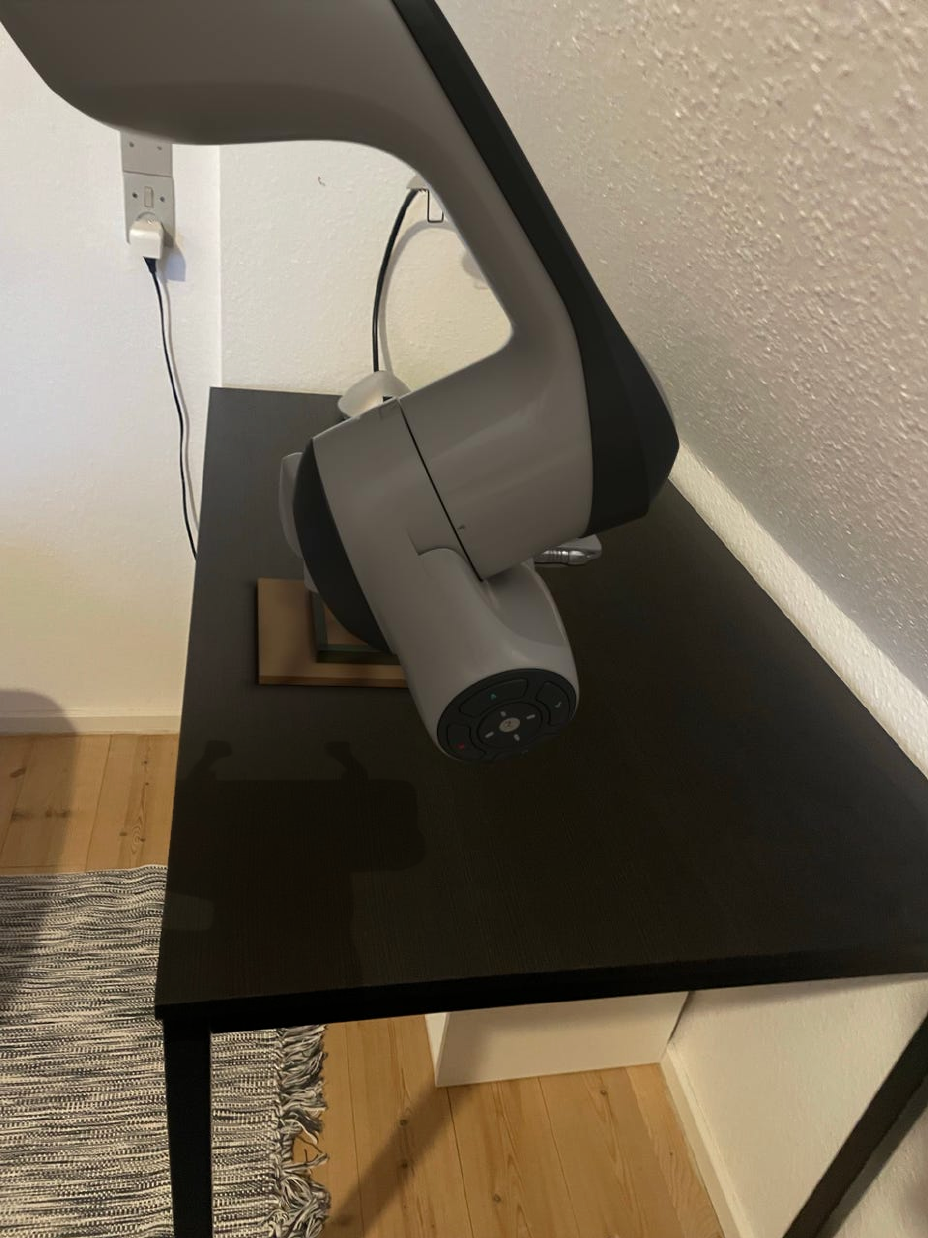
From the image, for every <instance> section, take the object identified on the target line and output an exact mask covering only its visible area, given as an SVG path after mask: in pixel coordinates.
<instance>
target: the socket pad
mask: <svg viewBox="0 0 928 1238" xmlns="http://www.w3.org/2000/svg"><path fill="white" fill-rule="evenodd" d="M256 587H257V589H256V590H257V649H258V651H257V652H258V658H257V659H258V662H257V663H258V684H259V685H279V686H280V685H282V686H285V685H286V686H323V687H325V686H326V687H327V686H328V687H331V686H332V687H366V688H367V687H368V688H370V687H371V688H373V687H374V688H409V687H408V684H407V681H406V678H405V675H404V672H403V669H402V666H401V663H400V661H399V658H398V656H397V654H394V655H393V656H391V655H388V654H385V653H383V652H380V651H378V650H376V649H375V648H373V647H371V646H370V645H368V644H366V643H365V642H363V641H362V640H360V639H358V638H357V637H355V636H354V635H352V634H351V633H349V632H348V631H347V630H346V629H345V628H344V627H343V626H342V625H341V624H340V623H339V621H338V620H337V619H336V618H335V617H334V615H333V614H332V613H331V611H330V610H329V608H328V607H327V606H326V604H325V602H324V601H323V599H322V597H321V596H320V594H319V593H316V592H313V591H311V590H309V589H308V588H307V587H306V585H305V581H304V579H284V578H268V577H267V578H264V577H258V578H257V585H256Z"/></svg>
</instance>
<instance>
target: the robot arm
mask: <svg viewBox="0 0 928 1238" xmlns="http://www.w3.org/2000/svg"><path fill="white" fill-rule="evenodd" d="M0 23H1V25H2V27H3V28H4V29H5V31H6V33H7V34H8V35H9V37H10V39H12V41H13V42H14V44H15V45H16V47H17V48H18V49H19V51H20V52H21V53H22V55H23V56H24V58H25V59H26V61H28V63H29V64H30V66H31V67H32V68H33V69H34V71H35V72H36V74H37V75H38V76H39V77H40V78H41V80H42V81H43V83H44V84H45V85H46V86H47V87H48V88H49V89H50V90H51V91H52V92H53V93H54V94H56V95H57V96H58V97H59V98H61V99H62V100H63V101H65V102H66V103H67V104H68V105H70V106H71V107H73V108H74V109H75V110H77V111H79V112H80V113H82V114H83V115H84V116H86V117H88V118H90V119H91V120H94V121H96V122H98V124H101V125H103V126H105V127H107V128H111V129H112V130H115V131H116V132H117V131H118V132H120V133H123V134H126V135H129V136H131V137H135V138H138V139H143V140H147V141H151V142H157V143H164V144H171V145H181V146H192V147H193V146H194V147H197V146H198V147H207V146H208V147H209V146H211V147H212V146H214V147H218V146H219V147H220V146H221V147H222V146H239V145H240V146H241V145H259V144H278V143H293V142H295V143H296V142H331V143H343V144H350V145H356V146H361V147H365V148H370V149H372V150H376V151H378V152H381V153H383V154H386V155H388V156H390V157H392V158H393V159H395V160H397V161H399V162H400V163H402V164H403V165H404V166H406V167H407V168H408V169H409V170H411V171H412V172H413V173H414V174H415V175H416V177H418V179H420V181H421V182H422V183H423V184H424V185H425V187H426V188H427V190H428V191H429V193H430V194H431V196H432V198H433V199H434V201H435V202H436V204H437V205H438V207H439V208H440V210H441V212H442V213H443V215H444V217H445V219H446V220H447V221H448V223H449V225H450V227H451V228H452V230H453V232H454V233H455V234H456V236H457V238H458V240H459V241H460V243H461V244H462V246H463V248H464V249H465V252H466V253H467V254H468V256H469V258H470V259H471V261H472V263H473V264H474V265H475V267H476V269H477V271H478V272H479V275H481V277H482V278H483V280H484V282H485V284H486V285H487V287H488V288H489V290H490V292H491V293H492V296H493V297H494V298H495V299H496V301H497V303H498V304H499V306H500V308H501V310H502V311H503V313H504V315H505V316H506V318H507V320H508V323H509V327H510V328H509V333H508V336H507V338H506V339H505V341H504V342H503V343H502V345H501V346H499V347H498V348H497V349H496V350H494V351H492V352H491V353H488V355H486V356H484V357H480V358H479V359H477V360H475V361H473V362H471V363H469V364H466V365H464V366H462V367H459V368H458V369H456V370H453V371H451V372H449V373H447V374H445V375H443V376H441V377H439V378H437V379H435V380H433V381H430V382H429V383H426V384H424V385H422V386H420V387H417V388H415V389H414V390H411V391H409V392H407V393H405V394H403V395H401V396H397V395H396V396H393V397H392V398H389V399H387V400H385V401H383V402H381V403H379V404H377V405H375V406H373V407H370V408H368V409H366V410H364V411H362V412H360V413H358V414H356V415H354V416H352V417H350V418H348V419H345V420H343V421H341V422H339V423H338V424H335V425H334V426H331V427H330V428H327V429H326V430H324V431H322V432H320V433H318V434H317V435H316V436H311V437H310V438H309V440H308V441H307V442H306V445H305V447H304V448H303V450H302V452H294V453H290V454H288V455H286V456H284V457H283V458H282V459H281V463H280V470H279V479H278V480H279V481H278V496H277V497H278V498H277V500H278V502H277V503H278V513H279V518H280V523H281V527H282V529H283V533H284V536H285V539H286V541H287V544H288V545H289V547H290V549H291V550H292V552H293V553H294V554H295V555H296V556H298V557H299V558H300V559H302V560H303V578H304V579H303V580H304V581H305V585H306V587H307V588H308V589H309V590H311V591H313V592H316V593H319V594H320V596H321V597H322V599H323V601H324V602H325V604H326V606H327V607H328V608H329V610H330V611H331V613H332V614H333V615H334V617H335V618H336V619H337V620H338V621H339V623H340V624H341V625H342V626H343V627H344V628H345V629H346V630H347V631H348V632H349V633H351V634H352V635H354V636H355V637H357V638H358V639H360V640H362V641H363V642H365V643H366V644H368V645H370V646H371V647H373V648H375V649H376V650H378V651H380V652H383V653H385V654H388V655H391V656H393V655H394V654H397V656H398V658H399V661H400V663H401V666H402V669H403V672H404V675H405V678H406V681H407V684H408V687H407V688H408V689H409V692H410V695H411V697H412V701H413V703H414V705H415V707H416V710H417V712H418V715H419V717H420V719H421V721H422V723H423V725H424V727H425V729H426V731H427V733H428V734H429V736H430V738H431V740H432V741H433V743H434V745H435V746H436V747H437V749H439V750H440V751H441V752H442V753H443V754H444V755H446V756H447V757H449V758H451V759H453V760H455V761H459V762H463V763H466V764H467V763H468V764H476V765H487V764H495V763H501V762H505V761H508V760H511V759H514V758H516V757H519V756H522V755H524V754H527V753H529V752H531V751H533V750H535V749H537V748H540V747H542V746H543V745H545V744H547V743H549V742H550V741H552V740H553V738H555V737H557V736H558V735H559V734H560V733H562V732H563V730H564V729H565V728H566V727H567V725H568V724H569V723H570V722H571V720H572V719H573V717H574V715H575V713H576V711H577V708H578V706H579V702H580V686H579V685H580V684H579V678H578V673H577V667H576V662H575V658H574V655H573V651H572V647H571V643H570V641H569V636H568V634H567V631H566V627H565V625H564V622H563V619H562V617H561V614H560V612H559V608H558V606H557V604H556V601H555V600H554V597H553V595H552V594H551V591H550V589H549V587H548V586H547V584H546V582H545V580H544V579H543V578H542V576H541V575H540V574H539V573H538V572H537V571H536V568H543V569H544V568H546V569H562V568H567V567H574V568H575V567H583V566H586V565H587V563H588V562H592V561H595V560H598V559H599V558H600V557H601V555H602V552H603V550H602V548H603V547H602V544H601V542H600V540H599V539H598V537H597V534H601V533H603V532H605V531H609V530H612V529H614V528H617V527H621V526H622V525H625V524H628V523H629V524H630V523H631V522H634V521H637V520H641V519H643V518H645V517H646V516H647V515H648V513H649V512H650V511H651V509H652V508H653V505H654V504H655V503H656V501H657V499H658V498H659V496H660V494H661V492H662V490H663V488H664V487H665V484H666V483H667V480H668V478H669V477H670V474H671V472H672V470H673V468H674V465H675V462H676V460H677V457H678V454H679V450H680V447H681V446H680V445H681V444H680V439H679V435H678V433H677V423H676V419H675V414H674V411H673V407H672V404H671V401H670V399H669V396H668V394H667V391H666V389H665V387H664V385H663V384H662V381H661V380H660V378H659V376H658V375H657V372H656V371H655V370H654V368H653V366H652V365H651V364H650V362H649V361H648V359H647V358H646V356H645V354H643V352H642V351H641V350H640V348H639V347H638V346H637V345H636V343H635V342H634V341H633V339H632V338H631V337H630V336H629V334H628V333H627V332H626V331H625V330H624V328H623V327H622V325H621V324H620V322H619V321H618V319H617V317H616V315H615V314H614V313H613V311H612V309H611V306H609V304H608V302H607V301H606V299H605V297H604V295H603V294H602V292H601V290H600V289H599V287H598V285H597V283H596V281H595V280H594V278H593V276H592V274H591V272H590V271H589V269H588V267H587V265H586V263H585V262H584V260H583V258H582V256H581V254H580V252H579V250H578V249H577V247H576V245H575V244H574V242H573V239H572V238H571V236H570V234H569V232H568V231H567V228H566V227H565V225H564V223H563V222H562V219H561V218H560V216H559V214H558V213H557V210H556V209H555V207H554V205H553V203H552V201H551V199H550V198H549V196H548V194H547V192H546V190H545V188H544V187H543V185H542V183H541V181H540V179H539V177H538V175H537V174H536V173H535V170H534V168H533V167H532V165H531V162H530V161H529V159H528V158H527V156H526V154H525V153H524V151H523V148H522V147H521V145H520V142H519V141H518V140H517V139H518V138H517V137H516V136H515V134H514V132H513V131H512V129H511V127H510V125H509V123H508V122H507V120H506V118H505V116H504V114H503V113H502V111H501V109H500V107H499V106H498V104H497V102H496V100H495V99H494V97H493V95H492V93H491V91H490V89H489V88H488V87H487V85H486V83H485V80H484V79H483V77H482V76H481V74H480V72H479V71H478V68H477V67H476V65H475V64H474V62H473V61H472V59H471V57H470V55H469V54H468V52H467V50H466V49H465V47H464V45H463V43H462V42H461V40H460V38H459V37H458V35H457V33H456V32H455V31H454V28H453V27H452V25H451V24H450V22H449V19H447V17H446V15H445V14H444V12H443V10H442V9H441V8H440V6H439V4H438V3H437V1H436V0H0Z"/></svg>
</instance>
